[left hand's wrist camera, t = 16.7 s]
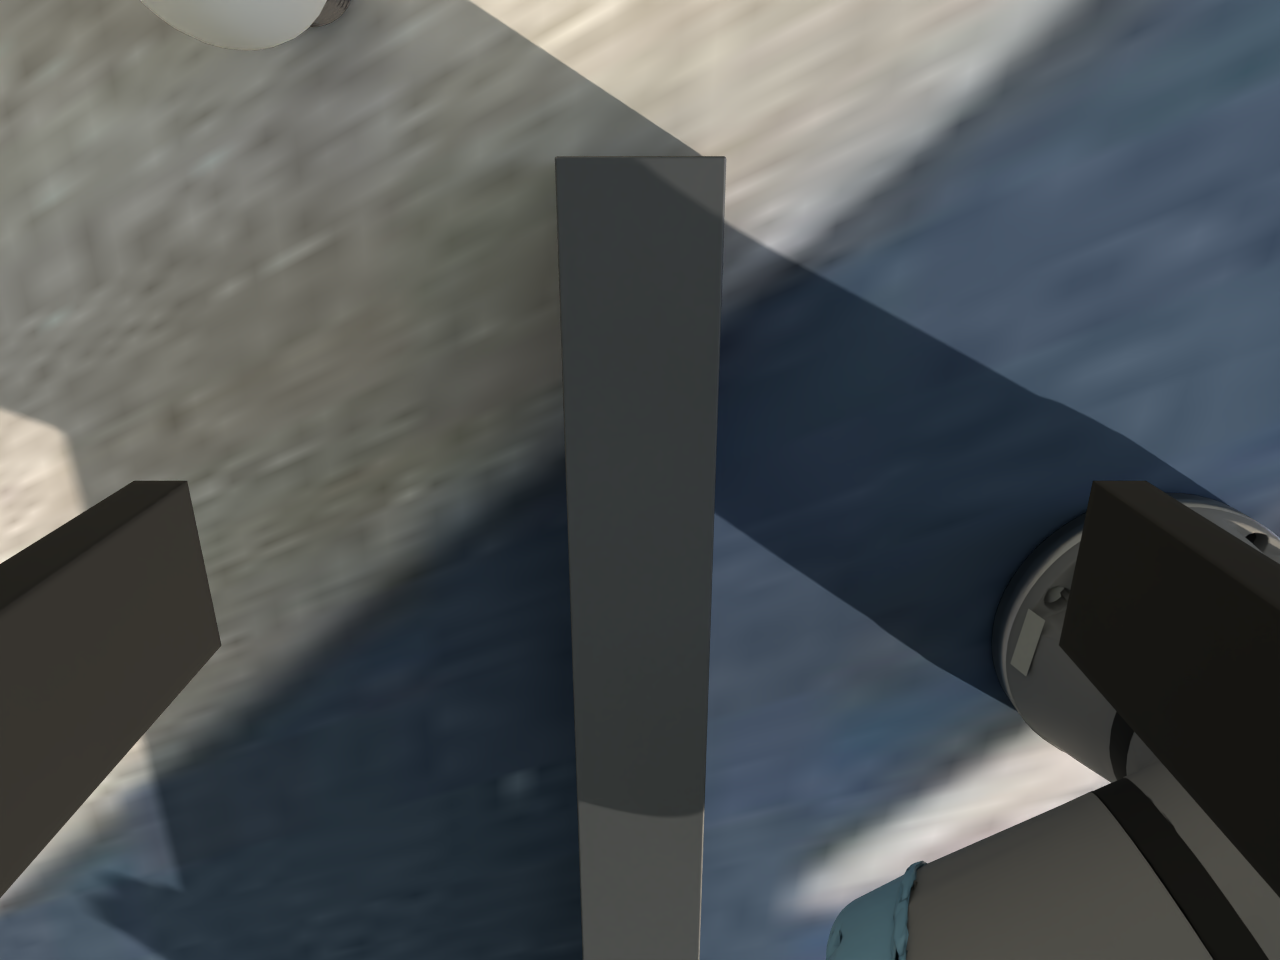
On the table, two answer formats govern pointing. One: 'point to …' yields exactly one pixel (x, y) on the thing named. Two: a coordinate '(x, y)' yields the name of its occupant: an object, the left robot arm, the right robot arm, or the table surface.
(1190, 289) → the table surface
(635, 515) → the beam
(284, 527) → the table surface
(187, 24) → the light bulb
